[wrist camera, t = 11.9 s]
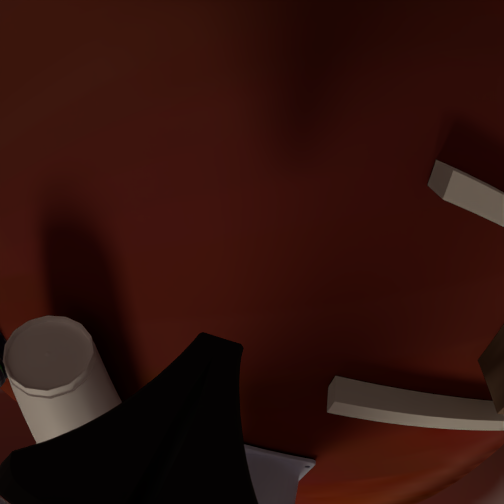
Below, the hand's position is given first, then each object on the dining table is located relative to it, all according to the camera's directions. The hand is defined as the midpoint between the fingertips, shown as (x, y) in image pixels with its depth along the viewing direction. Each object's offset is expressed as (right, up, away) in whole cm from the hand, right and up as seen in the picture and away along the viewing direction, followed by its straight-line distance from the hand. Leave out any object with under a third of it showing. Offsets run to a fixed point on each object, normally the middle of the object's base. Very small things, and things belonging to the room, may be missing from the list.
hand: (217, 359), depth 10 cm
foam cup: (-11, -2, +6) cm, 13 cm away
